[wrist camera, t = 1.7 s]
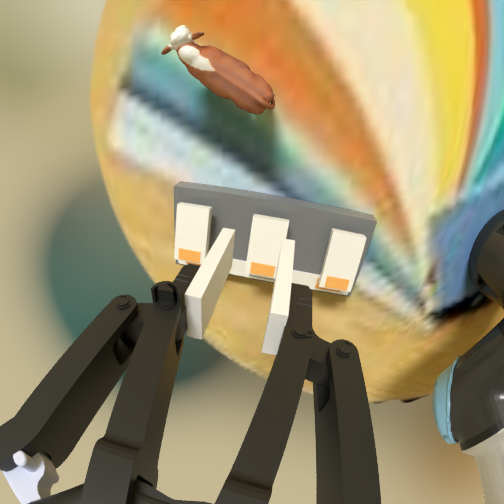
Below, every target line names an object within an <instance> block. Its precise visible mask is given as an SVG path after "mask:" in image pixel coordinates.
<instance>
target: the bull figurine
mask: <svg viewBox="0 0 504 504" xmlns="http://www.w3.org/2000/svg"><path fill="white" fill-rule="evenodd" d="M203 35H204V33H203V32H196V33H194V34H192V33H191V32H190V31H189V28H188V27H187V26H185V25H182V26H179V27H177V28H176V31H174V32H173V33H172V35H171V37H170V42H171V44H170V45H168V46H166V47H165V48H164V49H163V51H162V55H164V54H167V53H168V52H170V51H171V50H173V49H174V50H176V51H177V54H178V56H179V59H180V60H181V61H182V63H183V64H185V66H186V67H187V69H188V71H189V72H190V74H191V75H192V76H194V77H195V78H196V79H198V80H199V81H200V82H201V83H202V84H203V85H204V86H206V87H207V88H208V89H210V90H211V91H212V92H213V93H215V94H216V95H218V96H220V97H223V98H226V99H230V100H232V101H233V102H234V103H235V105H236V106H237V107H239V108H241V109H243V110H246V111H248V112H250V113H253V114H261V113H263V112H264V110H265V108H267V109H273V108H274V107H275V100H274V96H275V94H274V92H273V91H272V88H271V86H270V85H269V84H268V83H267V82H266V81H265V80H264V78H263V77H261V76H260V75H258V74H254V73H253V72H252V71H251V70H250V68H249V67H248V65H246V64H245V63H244V62H242V61H240V60H238V59H236V58H234V57H232V56H231V55H229V54H227V53H225V52H223V51H221V50H220V49H218V48H215V47H213V46H199V45H197V44H196V43H195V41H194V40H195V39H197V38H199V37H201V36H203ZM270 103H271V104H270Z"/></svg>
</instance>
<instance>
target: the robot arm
mask: <svg viewBox="0 0 504 504" xmlns="http://www.w3.org/2000/svg"><path fill="white" fill-rule="evenodd" d="M234 238H235V230H234V229H228V228H223V229H222V231H221V232H220V234H219V236H218V237H217V239H216V241H215V242H214V244H213V246H212V248H211V249H210V251H209V253H208V254H207V256H206V258H205V259H204V261H203V263H202V265H201V266H199V265H194V264H187V265H186V266H184V267H183V268H182V269H181V270H180V272H179V273H178V275H177V277H176V278H175V280H174V281H173V282H170V281H162V282H159V283H157V284H155V285H153V287H152V288H151V291H152V298H153V303H147V304H146V303H137V302H136V300H135V298H134V297H132V296H130V295H120V296H117V297H115V298H114V299H113V300H112V301H111V302H110V303H109V304H108V305H107V306H106V307H105V308H104V309H103V310H102V312H101V313H100V314H99V315H98V316H97V317H96V318H95V319H94V320H93V321H92V322H91V323H90V325H89V326H88V327H87V328H86V329H85V330H84V331H83V333H82V334H81V335H80V336H79V337H78V338H77V339H76V340H75V341H74V343H73V344H72V345H71V346H70V347H69V348H68V350H67V351H66V352H65V353H64V354H63V356H62V357H61V358H60V359H59V360H58V361H57V363H56V364H55V365H54V366H53V367H52V369H51V370H50V371H49V373H48V374H47V375H46V376H45V377H44V379H43V380H42V381H41V382H40V384H39V385H38V386H37V387H36V389H35V390H34V391H33V393H32V394H31V395H30V397H29V398H28V399H27V401H26V402H25V403H24V404H23V406H22V407H21V409H20V410H19V411H18V413H17V414H16V415H15V417H13V418H12V419H10V420H9V421H7V422H6V423H5V424H3V425H1V426H0V470H1V471H2V472H3V473H4V476H5V477H6V479H7V481H8V483H9V485H10V486H11V488H12V490H13V491H14V493H15V495H16V497H17V498H18V500H19V501H20V503H21V504H211V503H207V502H197V501H182V500H174V499H171V498H169V497H167V496H166V495H164V494H163V493H161V492H159V491H158V490H156V487H157V481H158V469H157V465H158V459H159V453H160V448H161V442H162V438H163V432H164V428H165V423H166V418H167V413H168V409H169V404H170V399H171V395H172V390H173V386H174V382H175V377H176V373H177V369H178V365H179V360H180V356H181V352H182V348H183V344H184V337H183V336H184V333H185V332H186V330H187V336H190V337H194V338H198V339H202V338H203V336H204V333H205V331H206V328H207V326H208V323H209V321H210V318H211V316H212V314H213V311H214V309H215V306H216V304H217V301H218V299H219V296H220V294H221V292H222V289H223V287H224V284H225V282H226V280H227V277H228V275H229V272H230V270H231V268H232V261H233V249H234ZM294 247H295V240H289V239H284V238H283V239H282V245H281V250H280V255H279V260H278V265H277V271H276V276H275V281H274V287H273V293H272V298H271V304H270V309H269V315H268V320H267V326H266V331H265V336H264V341H263V347H262V352H261V353H266V354H272V355H276V358H275V361H274V363H273V366H272V369H271V372H270V375H269V377H268V380H267V383H266V385H265V388H264V391H263V394H262V396H261V399H260V401H259V404H258V406H257V409H256V412H255V414H254V417H253V419H252V422H251V424H250V426H249V429H248V431H247V434H246V436H245V439H244V441H243V443H242V446H241V448H240V451H239V453H238V456H237V458H236V460H235V462H234V464H233V467H232V469H231V471H230V473H229V475H228V477H227V479H226V481H225V483H224V485H223V488H222V490H221V492H220V494H219V496H218V498H217V500H216V502H215V504H268V503H269V500H270V497H271V493H272V486H273V482H274V479H275V477H276V474H277V471H278V468H279V465H280V462H281V459H282V456H283V453H284V450H285V447H286V444H287V440H288V437H289V434H290V431H291V427H292V424H293V421H294V417H295V414H296V410H297V406H298V403H299V399H300V396H301V392H302V388H303V384H304V380H305V379H307V380H309V381H311V382H313V392H314V409H315V433H316V470H317V504H381V496H380V485H379V473H378V464H377V456H376V448H375V441H374V434H373V427H372V421H371V415H370V409H369V403H368V398H367V392H366V387H365V382H364V377H363V372H362V367H361V363H360V358H359V354H358V350H357V348H356V346H355V345H354V344H353V343H351V342H349V341H347V340H343V339H341V340H336V341H334V342H332V343H329V342H327V341H325V340H323V339H321V338H319V337H318V336H317V335H316V334H315V332H314V330H313V328H312V291H311V290H310V288H309V286H307V285H301V284H296V283H292V272H293V260H294ZM469 268H470V275H471V278H472V281H473V282H474V284H475V285H476V287H477V288H478V290H479V291H480V292H481V293H482V294H483V295H485V296H486V297H488V298H489V299H491V300H492V301H494V302H495V303H497V304H498V305H500V306H501V307H502V308H503V309H504V210H502V211H500V212H499V213H497V214H496V215H495V216H493V217H492V218H491V219H490V220H489V221H488V222H487V224H486V225H485V226H484V227H483V229H482V230H481V232H480V234H479V235H478V237H477V239H476V241H475V244H474V246H473V249H472V253H471V257H470V267H469ZM126 369H127V370H126ZM125 370H126V373H125V375H124V378H123V381H122V384H121V387H120V390H119V393H118V396H117V399H116V402H115V405H114V408H113V411H112V414H111V417H110V420H109V424H108V427H107V430H106V433H105V435H104V437H103V438H101V439H99V440H98V441H97V442H96V444H95V446H94V449H93V452H92V456H91V459H90V463H89V467H88V471H87V475H86V479H85V483H84V484H81V485H79V486H76V487H74V488H71V489H69V490H66V491H63V492H60V493H58V494H55V495H52V496H51V495H50V490H51V487H52V485H53V484H54V483H56V482H58V480H59V476H58V474H57V472H56V468H58V467H59V466H60V465H61V464H62V463H63V462H64V461H65V460H66V459H67V457H68V456H69V455H70V453H71V452H72V450H73V449H74V447H75V446H76V444H77V442H78V441H79V439H80V438H81V436H82V435H83V433H84V432H85V430H86V428H87V427H88V425H89V424H90V422H91V421H92V419H93V418H94V416H95V415H96V413H97V411H98V410H99V409H100V407H101V406H102V404H103V403H104V401H105V400H106V398H107V397H108V395H109V394H110V392H111V391H112V389H113V388H114V386H115V385H116V383H117V382H118V380H119V379H120V377H121V376H122V375H123V373H124V372H125ZM433 411H434V417H435V422H436V425H437V428H438V431H439V433H440V434H441V435H442V436H443V439H444V441H446V442H447V443H449V444H453V443H454V444H456V443H458V442H459V443H460V447H461V450H462V453H466V454H469V455H473V456H474V457H475V459H476V463H477V467H478V470H479V475H480V479H481V483H482V488H483V493H484V498H485V504H504V318H503V319H502V320H501V321H500V322H499V323H498V324H497V325H496V326H495V327H494V328H493V329H492V330H491V331H490V332H489V333H488V334H487V335H486V336H484V337H483V338H482V339H481V340H480V341H479V342H478V343H476V344H475V345H474V346H473V347H472V348H471V349H469V350H468V351H467V352H466V353H464V354H463V355H462V356H459V357H457V358H456V359H455V361H454V362H453V363H452V364H451V365H450V366H449V367H447V368H446V369H445V370H444V371H442V372H441V373H440V375H439V376H438V378H437V379H436V382H435V385H434V390H433Z"/></svg>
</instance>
